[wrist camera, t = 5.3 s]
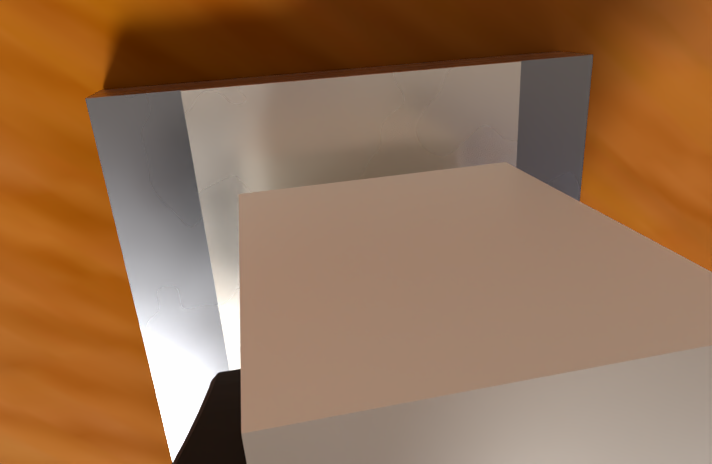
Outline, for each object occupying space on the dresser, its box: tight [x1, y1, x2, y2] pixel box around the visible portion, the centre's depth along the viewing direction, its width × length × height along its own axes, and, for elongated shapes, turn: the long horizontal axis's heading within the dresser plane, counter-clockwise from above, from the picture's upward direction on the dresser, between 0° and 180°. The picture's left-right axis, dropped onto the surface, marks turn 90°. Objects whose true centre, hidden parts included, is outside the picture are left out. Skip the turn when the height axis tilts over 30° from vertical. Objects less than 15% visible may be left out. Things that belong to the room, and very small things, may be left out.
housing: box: [239, 162, 712, 464], centre depth 8 cm, size 4×6×6 cm
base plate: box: [85, 51, 593, 462], centre depth 13 cm, size 9×18×2 cm, turn 4°
